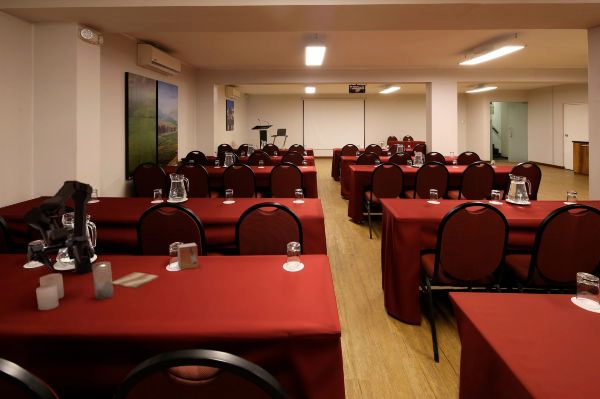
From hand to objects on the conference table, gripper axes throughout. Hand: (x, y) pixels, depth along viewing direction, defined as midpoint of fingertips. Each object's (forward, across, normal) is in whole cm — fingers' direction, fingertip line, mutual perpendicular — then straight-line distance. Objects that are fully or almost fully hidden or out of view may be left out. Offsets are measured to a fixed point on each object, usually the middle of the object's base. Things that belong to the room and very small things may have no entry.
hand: (67, 266), depth 137 cm
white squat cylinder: (+8, -7, +10) cm, 15 cm away
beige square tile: (+10, +25, +9) cm, 28 cm away
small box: (+13, +48, +6) cm, 51 cm away
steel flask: (+13, +9, +5) cm, 17 cm away
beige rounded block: (+3, -3, +16) cm, 16 cm away
